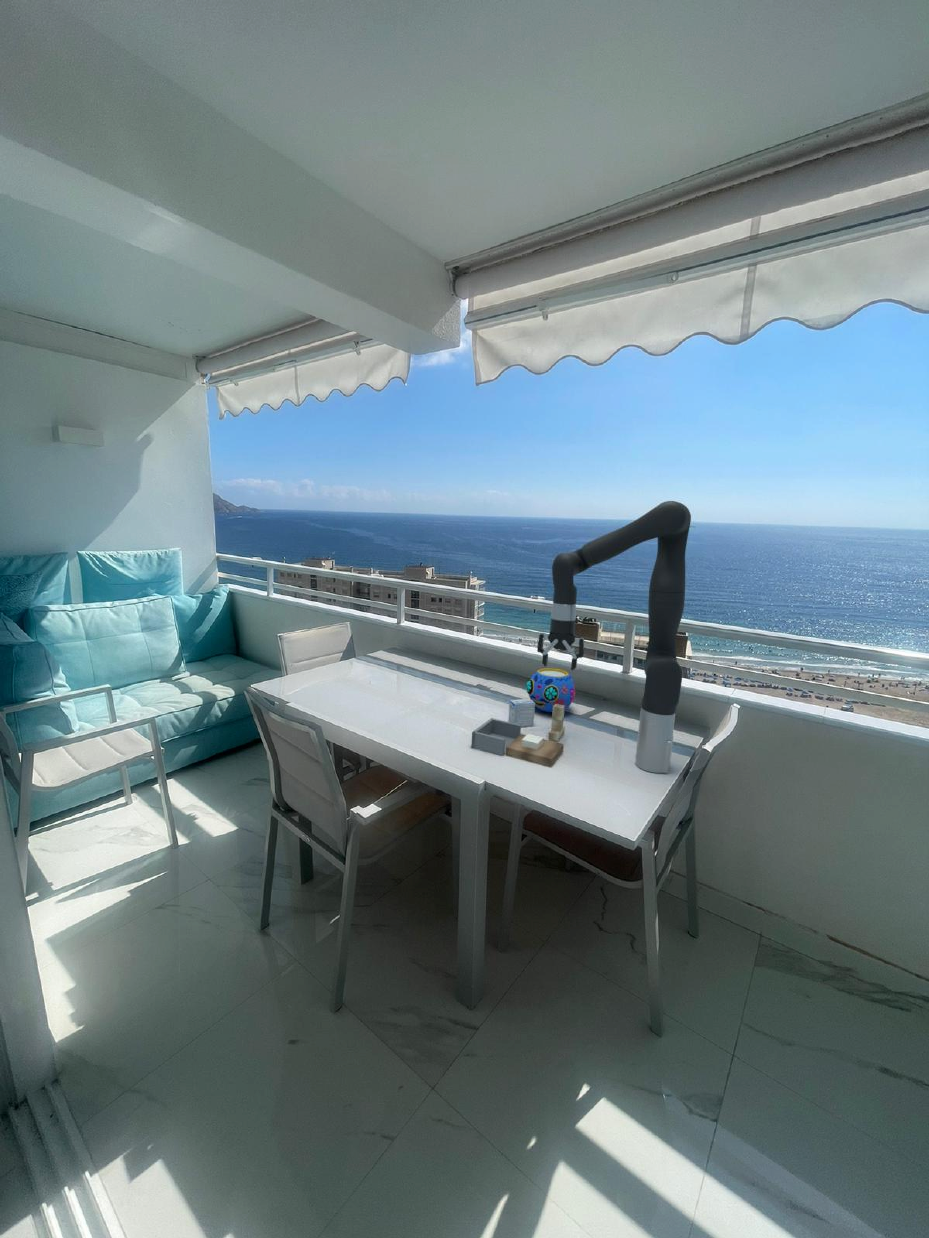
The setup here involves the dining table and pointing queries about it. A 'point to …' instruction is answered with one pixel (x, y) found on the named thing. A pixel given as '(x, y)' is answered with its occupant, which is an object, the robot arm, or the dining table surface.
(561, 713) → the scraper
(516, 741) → the walnut plate
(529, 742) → the cream tile
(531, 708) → the medicine box
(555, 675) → the ceramic pot
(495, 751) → the box
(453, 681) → the dining table surface
